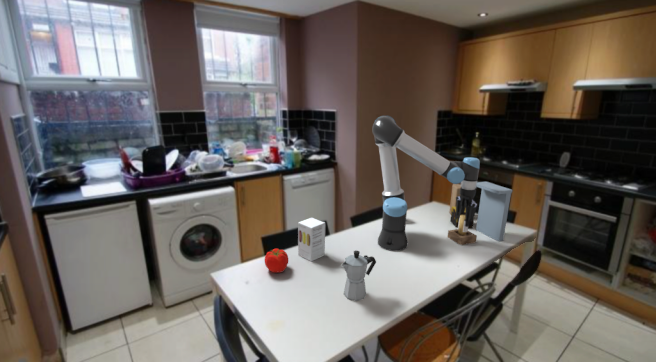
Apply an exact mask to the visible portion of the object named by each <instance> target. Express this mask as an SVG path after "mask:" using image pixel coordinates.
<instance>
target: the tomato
mask: <svg viewBox="0 0 656 362" xmlns="http://www.w3.org/2000/svg"><path fill="white" fill-rule="evenodd" d="M264 264H265V267H266V268H267V270H268V271H270V272H271V273H275V274H277V273H283V272H284V271H285V270H286V268H287V267H288V264H289V255H288V254H287V252H286V251H285V250H284V249H279V248H274V249H270V251H267V252H266V255H265V256H264Z"/></svg>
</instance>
